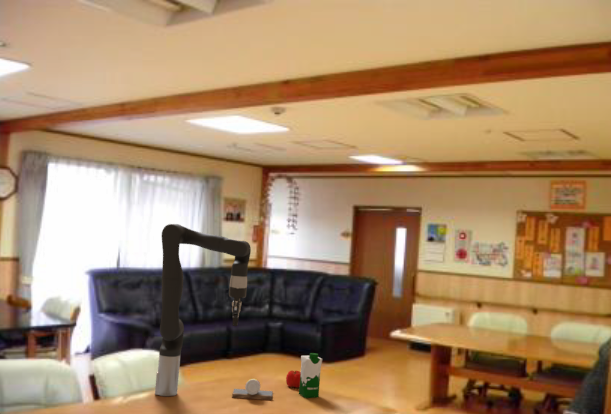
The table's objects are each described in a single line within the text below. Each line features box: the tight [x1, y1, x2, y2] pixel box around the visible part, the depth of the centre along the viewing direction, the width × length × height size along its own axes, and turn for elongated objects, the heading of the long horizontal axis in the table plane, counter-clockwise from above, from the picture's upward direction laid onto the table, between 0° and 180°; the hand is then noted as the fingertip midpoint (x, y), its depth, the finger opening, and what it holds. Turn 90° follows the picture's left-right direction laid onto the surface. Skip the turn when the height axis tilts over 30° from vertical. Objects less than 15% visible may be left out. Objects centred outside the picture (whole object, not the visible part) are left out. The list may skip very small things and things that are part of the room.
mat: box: [232, 388, 273, 397], centre depth 278 cm, size 18×10×1 cm, turn 93°
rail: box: [231, 392, 273, 401], centre depth 271 cm, size 18×2×2 cm, turn 93°
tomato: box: [285, 370, 301, 389], centre depth 297 cm, size 9×9×8 cm
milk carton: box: [298, 352, 323, 399], centre depth 283 cm, size 9×9×20 cm
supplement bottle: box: [244, 377, 261, 395], centre depth 275 cm, size 7×7×13 cm
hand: (234, 325), depth 264 cm, fingers closed
